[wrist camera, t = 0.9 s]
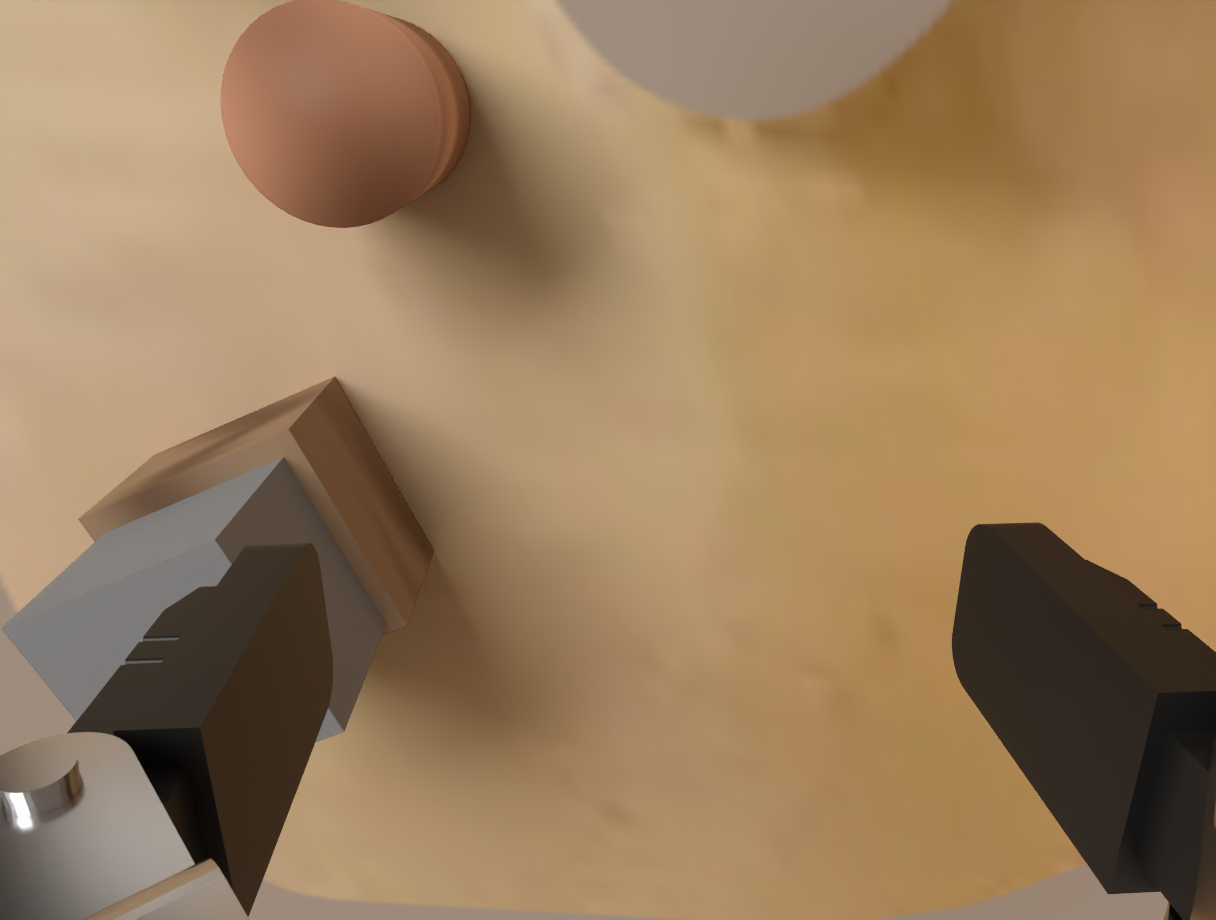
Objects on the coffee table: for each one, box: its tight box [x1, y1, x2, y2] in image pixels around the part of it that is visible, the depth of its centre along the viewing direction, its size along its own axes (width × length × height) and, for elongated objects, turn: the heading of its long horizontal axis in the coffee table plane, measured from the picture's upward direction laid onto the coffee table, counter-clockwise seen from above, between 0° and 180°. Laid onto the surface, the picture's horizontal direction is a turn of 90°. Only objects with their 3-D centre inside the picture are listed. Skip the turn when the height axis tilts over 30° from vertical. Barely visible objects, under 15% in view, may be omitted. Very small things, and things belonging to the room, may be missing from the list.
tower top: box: [1, 457, 386, 742], centre depth 25 cm, size 6×6×5 cm
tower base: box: [78, 377, 434, 635], centre depth 29 cm, size 7×7×5 cm
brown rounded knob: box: [221, 0, 471, 228], centre depth 24 cm, size 5×5×6 cm
